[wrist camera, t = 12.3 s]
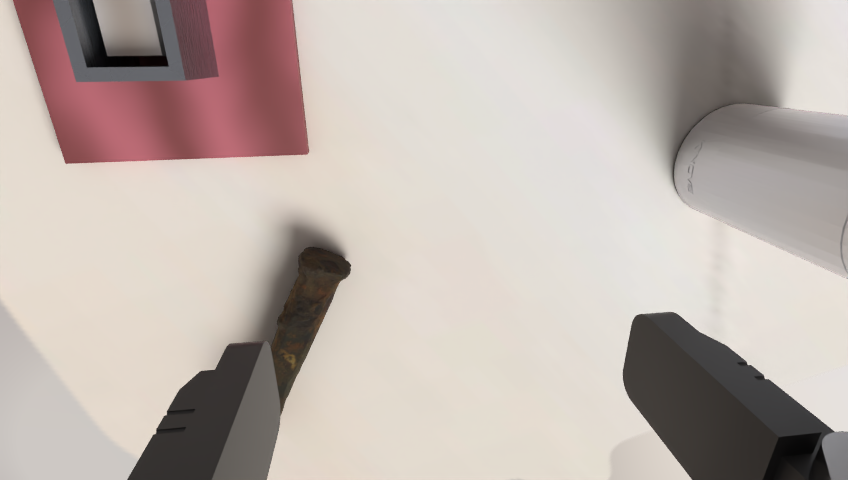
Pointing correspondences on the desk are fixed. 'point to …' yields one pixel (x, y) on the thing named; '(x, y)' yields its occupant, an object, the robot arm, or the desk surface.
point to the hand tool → (305, 313)
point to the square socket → (183, 45)
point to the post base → (175, 86)
